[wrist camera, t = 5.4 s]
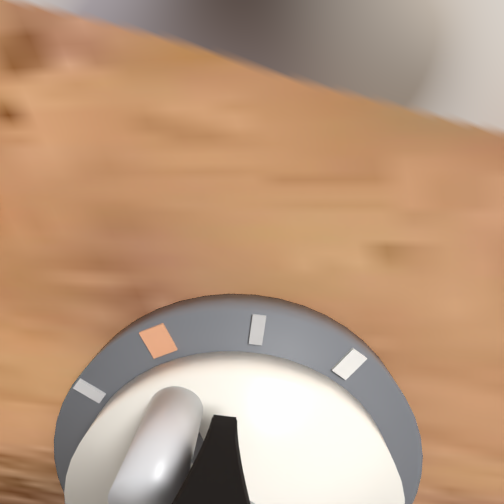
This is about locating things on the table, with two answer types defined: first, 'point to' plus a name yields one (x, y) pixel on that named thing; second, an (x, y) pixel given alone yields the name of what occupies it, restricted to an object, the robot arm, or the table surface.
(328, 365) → the dial base
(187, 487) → the robot arm
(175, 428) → the dial
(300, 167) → the table surface
